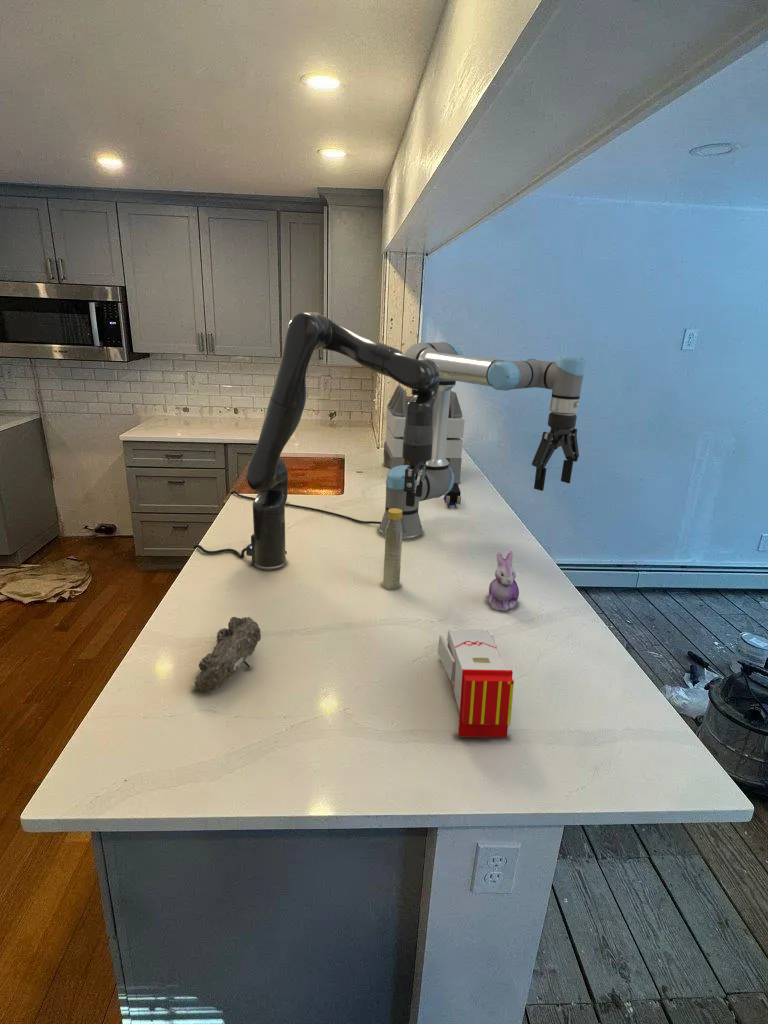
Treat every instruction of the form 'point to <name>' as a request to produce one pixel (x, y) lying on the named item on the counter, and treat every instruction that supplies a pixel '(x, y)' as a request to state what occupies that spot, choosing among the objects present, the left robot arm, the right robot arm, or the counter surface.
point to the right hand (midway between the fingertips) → (552, 485)
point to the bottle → (392, 554)
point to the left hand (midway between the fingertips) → (413, 501)
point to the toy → (478, 682)
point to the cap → (394, 514)
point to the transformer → (396, 432)
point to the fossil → (228, 653)
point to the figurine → (503, 584)
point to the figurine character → (453, 496)
